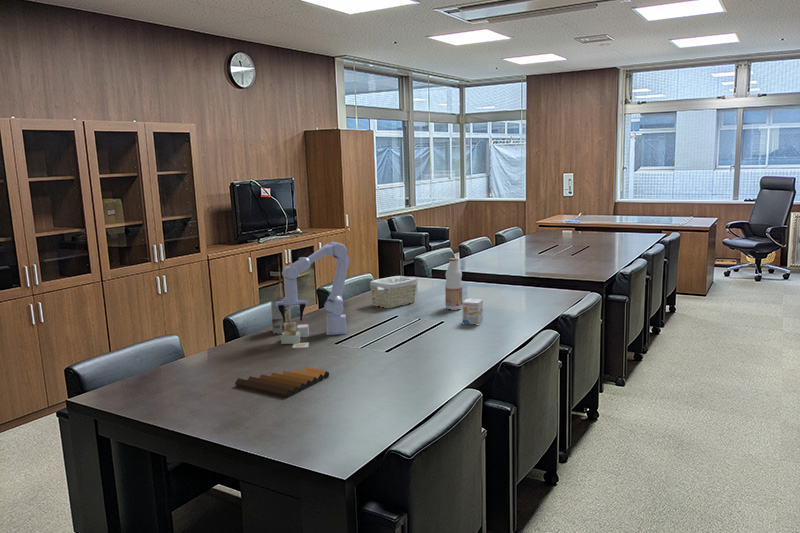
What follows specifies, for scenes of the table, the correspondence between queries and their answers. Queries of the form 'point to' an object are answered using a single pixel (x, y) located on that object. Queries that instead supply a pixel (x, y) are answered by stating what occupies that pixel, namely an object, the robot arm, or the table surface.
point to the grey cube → (303, 330)
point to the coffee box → (279, 317)
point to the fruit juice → (453, 285)
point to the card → (300, 345)
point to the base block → (290, 338)
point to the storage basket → (393, 291)
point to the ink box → (472, 311)
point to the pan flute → (284, 382)
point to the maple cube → (290, 328)
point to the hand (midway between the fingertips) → (292, 320)
